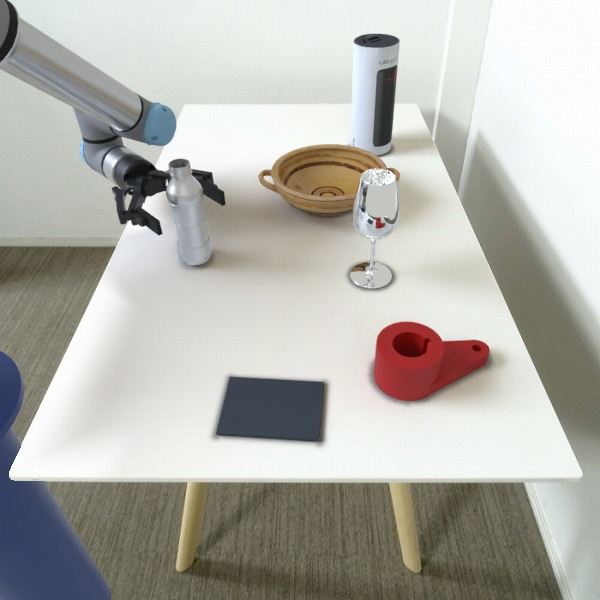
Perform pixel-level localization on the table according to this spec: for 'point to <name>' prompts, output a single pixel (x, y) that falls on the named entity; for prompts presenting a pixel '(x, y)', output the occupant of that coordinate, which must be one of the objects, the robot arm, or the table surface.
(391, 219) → the wineglass
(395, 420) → the table surface
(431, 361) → the lever
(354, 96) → the speaker
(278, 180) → the ceramic bowl
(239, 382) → the mat
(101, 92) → the robot arm
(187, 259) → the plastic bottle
